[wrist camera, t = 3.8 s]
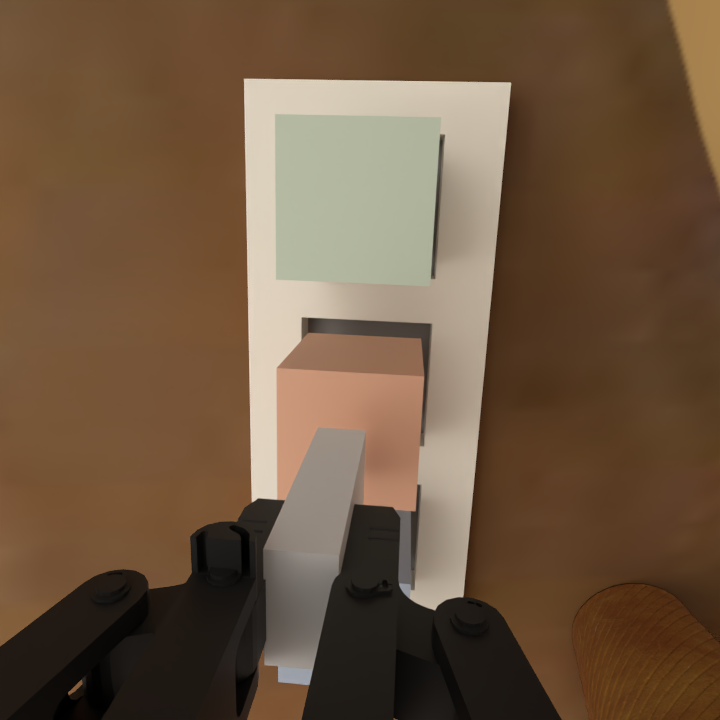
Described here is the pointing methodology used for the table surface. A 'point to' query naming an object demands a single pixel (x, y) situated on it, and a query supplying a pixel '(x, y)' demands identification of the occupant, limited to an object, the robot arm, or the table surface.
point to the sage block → (355, 198)
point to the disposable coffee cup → (645, 657)
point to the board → (391, 295)
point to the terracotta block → (355, 408)
